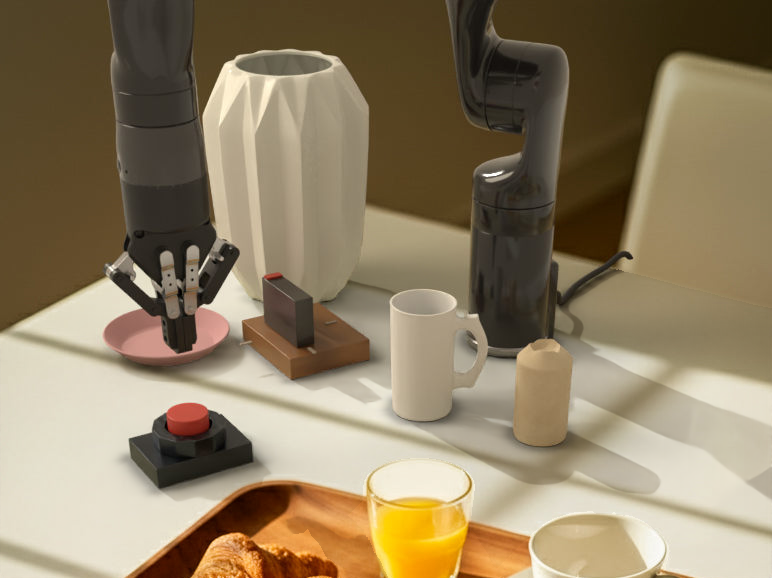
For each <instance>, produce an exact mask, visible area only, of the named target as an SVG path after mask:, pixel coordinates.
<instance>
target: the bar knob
mask: <svg viewBox="0 0 772 578" xmlns="http://www.w3.org/2000/svg"><path fill="white" fill-rule="evenodd" d="M262 288H263V302H262V304H263V313H264V322H265V323H266V324H267V325H269V326H270V327H271V328H272V329H274V330H275V331H276V332H278V333H279V334H280V335H281V336H283V337H284V338H285V339H287V340H288V341H289V342H290V343H292V344H293V345H294V346H296V347H297V348H299V347H303V346H307V345H311V344H314V316H313V297H311V296H310V295H309V294H307V293H306V292H304V291H303V290H302V289H300V288H299V287H297V286H296V285H295V284H293V283H292V282H290V281H289V280H288V279H286V278H285V277H283V275H282V274H281V273H279V272H276V273H272V274H267V275H264V277H262Z"/></svg>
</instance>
